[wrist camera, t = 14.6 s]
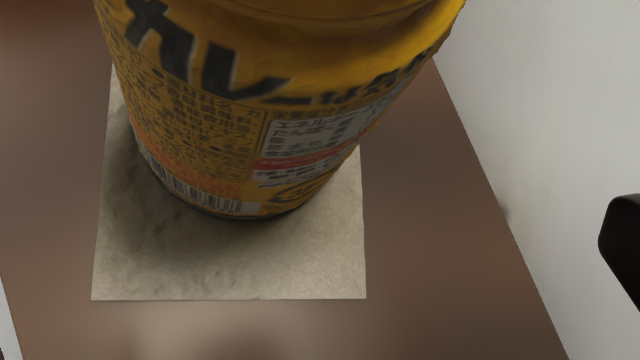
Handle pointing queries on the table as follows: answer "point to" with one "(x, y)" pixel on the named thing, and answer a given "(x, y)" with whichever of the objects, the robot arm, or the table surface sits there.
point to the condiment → (247, 141)
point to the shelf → (251, 315)
